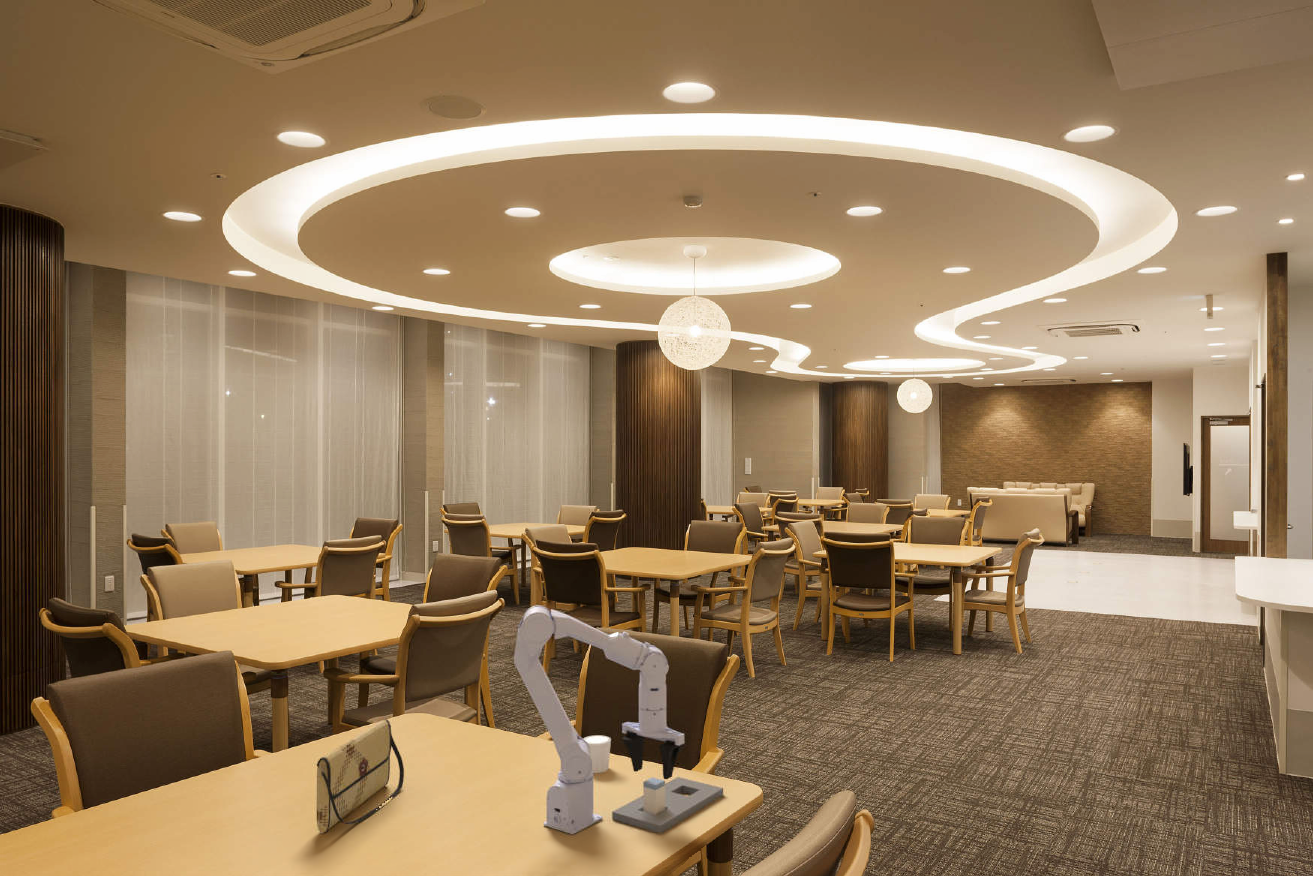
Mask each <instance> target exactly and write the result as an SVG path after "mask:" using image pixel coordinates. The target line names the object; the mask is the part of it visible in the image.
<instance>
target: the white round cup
mask: <svg viewBox="0 0 1313 876" xmlns="http://www.w3.org/2000/svg"><path fill="white" fill-rule="evenodd" d="M583 739H584V740H585V741H586V742H587V743H588V745H589V748H590V757H591V759H592V772H593V774H594V773H595V774H599V773H601V774H602V773H604V772H607V771H608V770H609V768H610V767H609V766H610V753H611V744H612V743H611V742H612V738H611V737H609V736H606V735H599V734H598V735H589V736H586V737H584V738H583Z"/></svg>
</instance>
